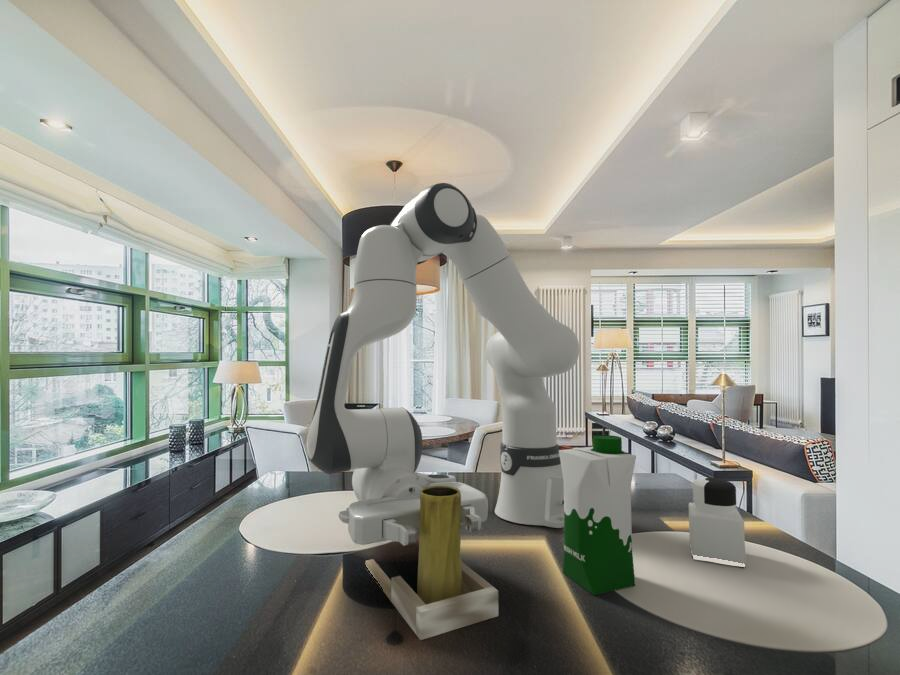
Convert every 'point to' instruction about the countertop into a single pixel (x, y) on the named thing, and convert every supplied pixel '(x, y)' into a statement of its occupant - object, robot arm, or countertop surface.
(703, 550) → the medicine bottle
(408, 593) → the frame
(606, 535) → the milk carton
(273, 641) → the countertop surface
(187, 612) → the countertop surface
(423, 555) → the vase
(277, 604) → the countertop surface
